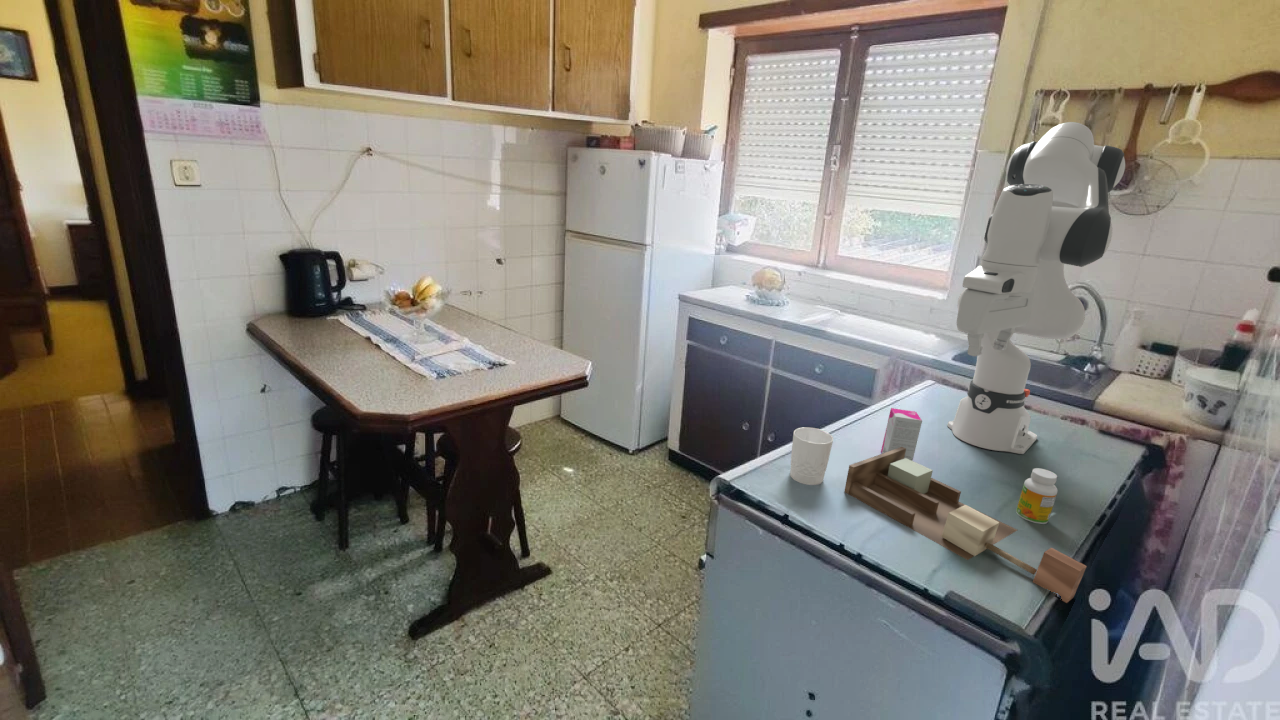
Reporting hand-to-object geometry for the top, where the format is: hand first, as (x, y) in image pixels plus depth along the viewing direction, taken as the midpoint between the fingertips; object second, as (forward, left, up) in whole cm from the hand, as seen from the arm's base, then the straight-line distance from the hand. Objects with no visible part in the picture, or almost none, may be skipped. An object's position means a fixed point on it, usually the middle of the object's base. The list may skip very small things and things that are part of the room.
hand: (986, 352), depth 111 cm
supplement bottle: (-8, +12, -31) cm, 35 cm away
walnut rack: (+9, 0, -31) cm, 32 cm away
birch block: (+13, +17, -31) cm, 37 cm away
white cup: (+20, -20, -31) cm, 42 cm away
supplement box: (-6, -16, -31) cm, 36 cm away
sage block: (+5, -7, -31) cm, 32 cm away
